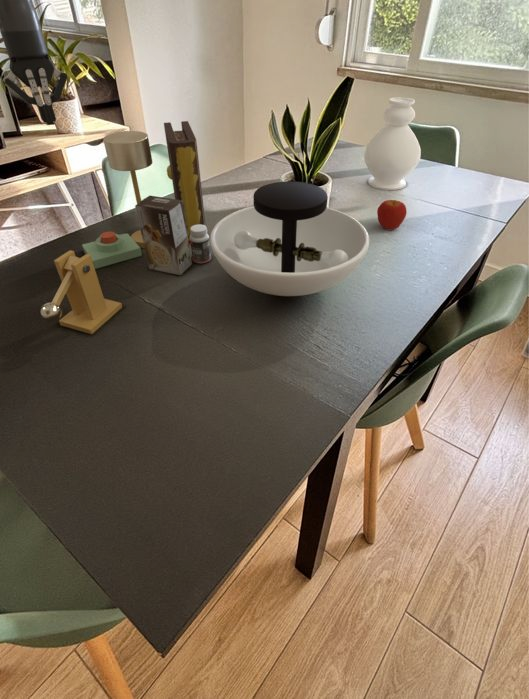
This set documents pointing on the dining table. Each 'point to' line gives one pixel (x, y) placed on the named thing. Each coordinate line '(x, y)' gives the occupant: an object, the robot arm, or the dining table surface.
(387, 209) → the apple
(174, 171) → the book
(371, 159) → the decorative vase
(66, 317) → the switch bracket
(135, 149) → the desk lamp
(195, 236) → the pill bottle
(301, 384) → the dining table surface
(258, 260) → the light fixture
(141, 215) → the coffee box
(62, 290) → the lamp switch
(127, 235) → the green push button base
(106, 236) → the power button
